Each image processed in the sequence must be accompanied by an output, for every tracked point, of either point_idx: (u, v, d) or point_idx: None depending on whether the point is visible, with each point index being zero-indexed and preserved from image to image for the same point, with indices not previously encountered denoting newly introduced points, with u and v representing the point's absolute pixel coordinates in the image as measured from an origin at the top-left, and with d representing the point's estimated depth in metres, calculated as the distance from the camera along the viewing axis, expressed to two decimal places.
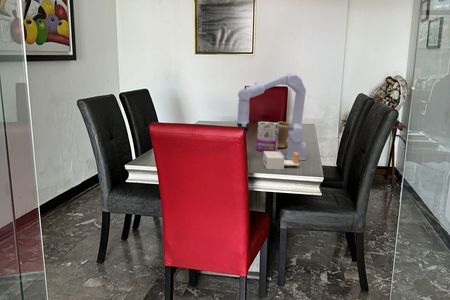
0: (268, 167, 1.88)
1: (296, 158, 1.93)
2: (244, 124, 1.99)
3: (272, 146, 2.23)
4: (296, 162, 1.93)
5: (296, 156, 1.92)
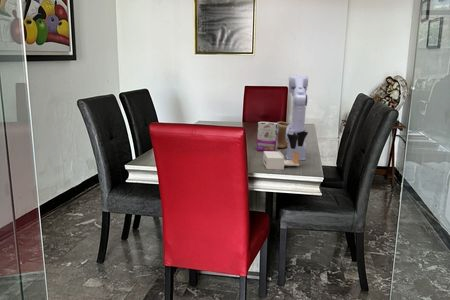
0: (268, 167, 1.88)
1: (296, 158, 1.93)
2: (291, 132, 1.86)
3: (272, 146, 2.23)
4: (296, 162, 1.93)
5: (296, 156, 1.92)
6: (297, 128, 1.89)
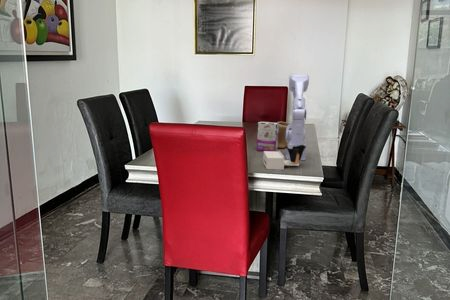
0: (268, 167, 1.88)
1: (296, 158, 1.93)
2: (290, 146, 1.88)
3: (272, 146, 2.23)
4: (296, 162, 1.93)
5: (296, 156, 1.92)
6: (296, 142, 1.91)
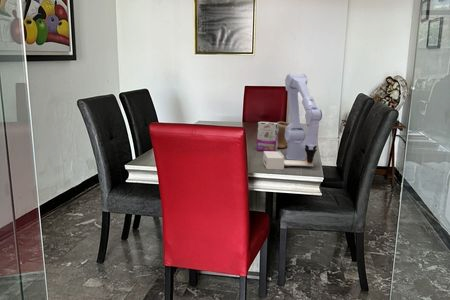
0: (268, 167, 1.88)
1: None
2: (311, 147, 1.87)
3: (272, 146, 2.23)
4: None
5: None
6: (313, 142, 1.91)
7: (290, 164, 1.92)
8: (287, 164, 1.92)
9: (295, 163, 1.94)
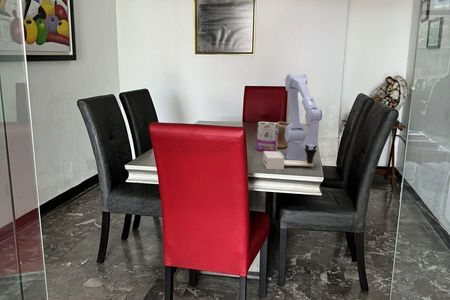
0: (268, 167, 1.88)
1: None
2: (311, 147, 1.87)
3: (272, 146, 2.23)
4: None
5: None
6: (313, 142, 1.91)
7: (290, 164, 1.92)
8: (287, 164, 1.92)
9: (295, 163, 1.94)
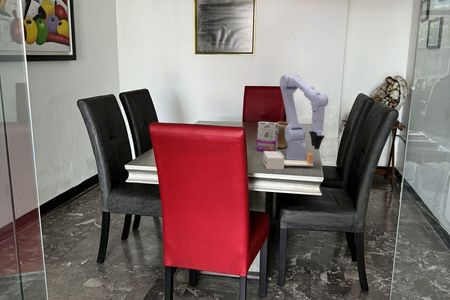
0: (268, 167, 1.88)
1: (310, 158, 1.93)
2: (320, 133, 1.86)
3: (272, 146, 2.23)
4: (310, 162, 1.93)
5: (310, 156, 1.93)
6: (320, 128, 1.91)
7: (290, 164, 1.92)
8: (287, 164, 1.92)
9: (295, 163, 1.94)
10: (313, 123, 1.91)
